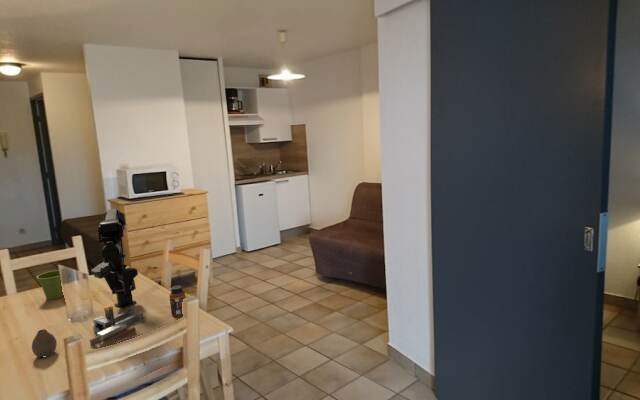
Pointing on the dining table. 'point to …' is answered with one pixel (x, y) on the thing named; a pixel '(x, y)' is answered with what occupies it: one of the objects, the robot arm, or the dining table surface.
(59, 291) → the plant pot
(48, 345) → the vase
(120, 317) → the socket
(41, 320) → the dining table surface
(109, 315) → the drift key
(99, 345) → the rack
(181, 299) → the supplement bottle
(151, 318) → the dining table surface
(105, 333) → the bar
